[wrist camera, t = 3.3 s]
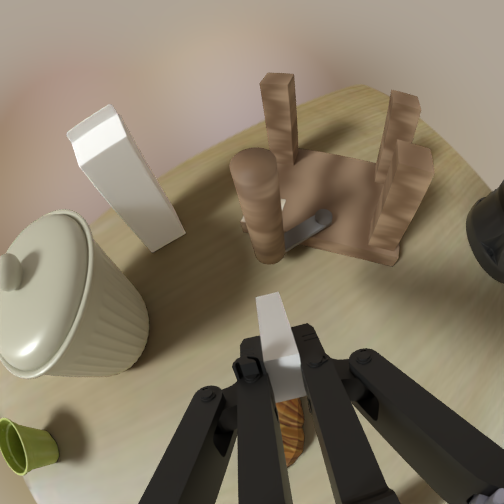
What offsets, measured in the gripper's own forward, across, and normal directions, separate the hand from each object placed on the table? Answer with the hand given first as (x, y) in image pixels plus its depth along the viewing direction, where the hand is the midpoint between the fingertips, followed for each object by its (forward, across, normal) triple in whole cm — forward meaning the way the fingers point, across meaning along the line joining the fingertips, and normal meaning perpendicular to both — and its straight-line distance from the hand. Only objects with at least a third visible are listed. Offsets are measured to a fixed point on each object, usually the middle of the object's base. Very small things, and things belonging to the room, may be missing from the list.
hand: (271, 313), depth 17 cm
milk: (+25, -13, +4) cm, 29 cm away
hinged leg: (+17, +5, 0) cm, 17 cm away
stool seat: (+23, +12, +2) cm, 26 cm away
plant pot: (+2, -40, -20) cm, 45 cm away
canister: (+15, -22, -6) cm, 27 cm away
